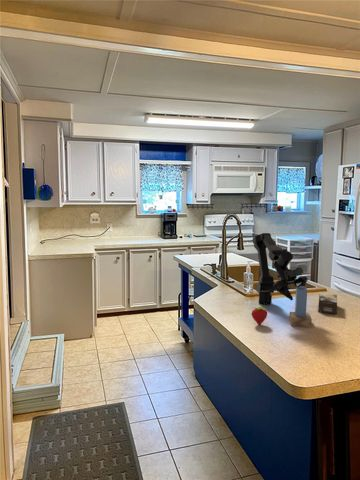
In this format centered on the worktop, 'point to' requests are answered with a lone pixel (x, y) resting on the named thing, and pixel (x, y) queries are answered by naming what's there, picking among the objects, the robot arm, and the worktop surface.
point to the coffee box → (327, 303)
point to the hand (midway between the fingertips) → (299, 298)
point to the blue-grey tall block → (301, 301)
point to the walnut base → (300, 320)
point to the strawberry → (259, 315)
